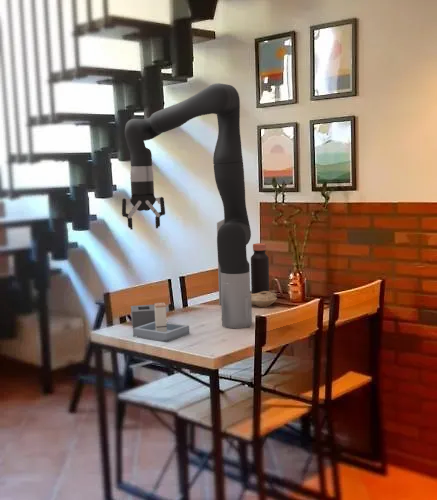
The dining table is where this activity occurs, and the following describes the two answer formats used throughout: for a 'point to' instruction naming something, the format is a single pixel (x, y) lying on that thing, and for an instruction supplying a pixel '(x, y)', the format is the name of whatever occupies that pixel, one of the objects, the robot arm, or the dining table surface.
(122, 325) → the dining table surface
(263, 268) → the bottle
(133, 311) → the panel
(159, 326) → the block
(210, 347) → the dining table surface
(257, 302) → the pottery oil lamp
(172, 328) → the tray
